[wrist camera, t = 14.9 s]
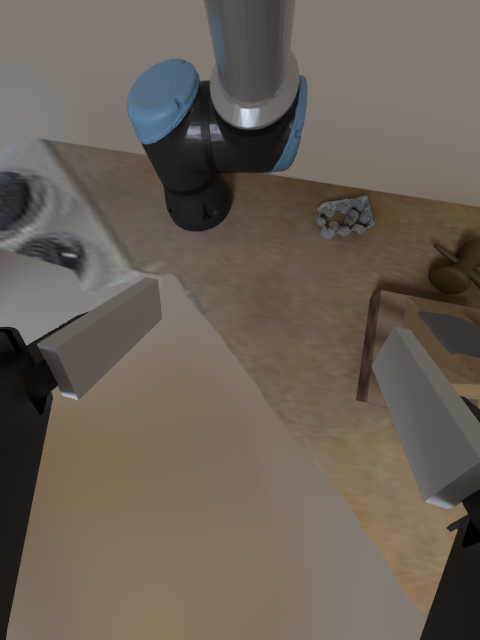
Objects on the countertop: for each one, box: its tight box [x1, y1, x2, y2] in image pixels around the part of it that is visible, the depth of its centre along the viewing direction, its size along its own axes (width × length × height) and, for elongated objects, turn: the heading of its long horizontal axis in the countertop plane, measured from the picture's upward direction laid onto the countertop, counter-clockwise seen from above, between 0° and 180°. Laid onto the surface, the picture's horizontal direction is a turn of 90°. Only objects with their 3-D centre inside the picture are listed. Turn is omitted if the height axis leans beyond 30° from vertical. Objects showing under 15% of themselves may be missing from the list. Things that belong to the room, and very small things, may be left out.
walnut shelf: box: [356, 290, 480, 408], centre depth 39 cm, size 20×16×4 cm
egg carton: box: [316, 195, 375, 240], centre depth 47 cm, size 11×8×4 cm
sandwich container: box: [402, 297, 480, 400], centre depth 30 cm, size 9×15×15 cm, turn 164°
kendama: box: [429, 240, 480, 294], centre depth 41 cm, size 6×10×20 cm
